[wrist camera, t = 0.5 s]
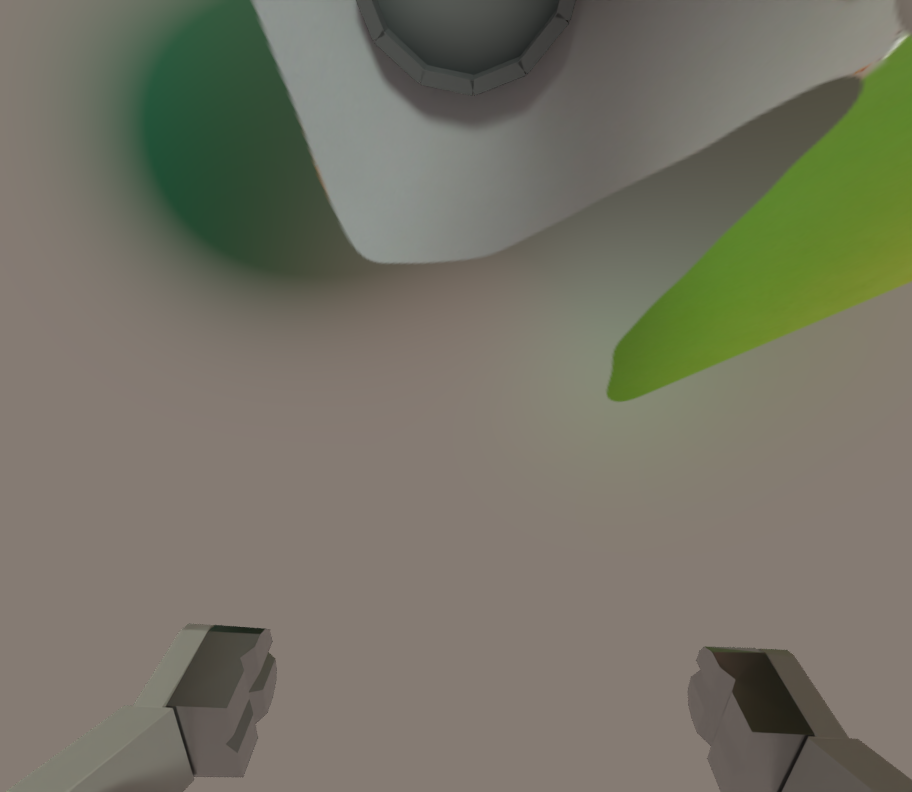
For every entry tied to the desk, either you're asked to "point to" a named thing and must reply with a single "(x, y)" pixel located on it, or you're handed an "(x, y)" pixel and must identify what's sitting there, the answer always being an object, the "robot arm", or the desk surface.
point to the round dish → (465, 38)
